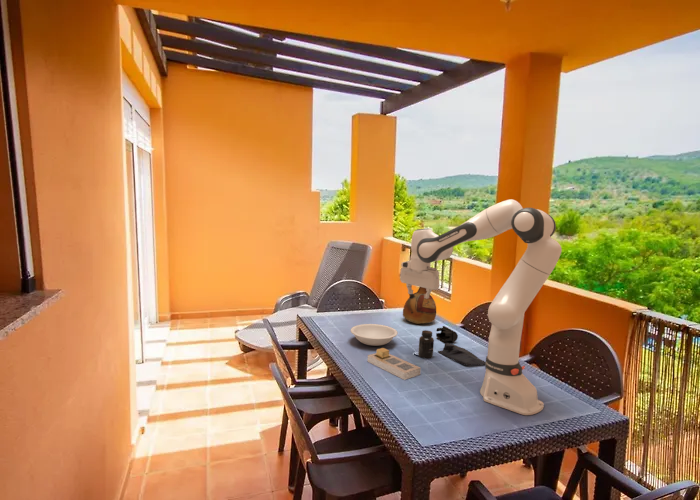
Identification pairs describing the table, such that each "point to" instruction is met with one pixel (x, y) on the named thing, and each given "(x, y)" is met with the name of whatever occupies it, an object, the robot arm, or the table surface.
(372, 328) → the soup bowl
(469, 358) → the dark slate chunk
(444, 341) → the end cap
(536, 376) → the table surface
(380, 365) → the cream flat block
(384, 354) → the golden yellow block
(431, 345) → the supplement bottle
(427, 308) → the ceramic pitcher
